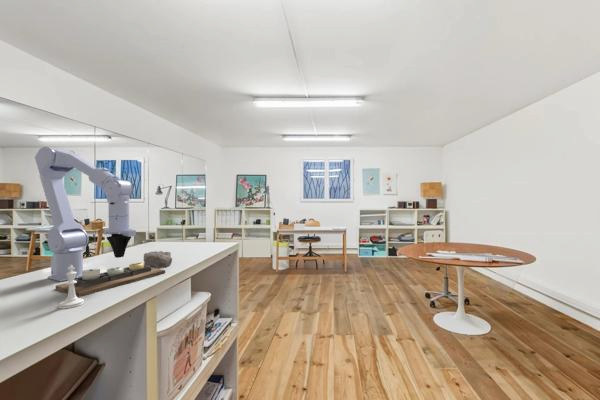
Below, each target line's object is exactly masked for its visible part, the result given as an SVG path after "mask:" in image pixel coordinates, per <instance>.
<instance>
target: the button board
mask: <svg viewBox="0 0 600 400" xmlns="http://www.w3.org/2000/svg"><path fill="white" fill-rule="evenodd" d="M123 269H124V273H119V274H115V275H108V274H107V271H105V272H100V278H98V279H94V280H82V277H79V278H75V279H74V281H77V283H74V288H75V294H76V297H82V296H86V295H90V294H94V293H98V292H102V291H104V290H110V289H113V288H116V287H120V286H123V285H126V284H131V283H134V282H138V281H141V280H146V279H150V278H153V277H156V276H159V275H163V274H166V269H160V268H156V267H151V266H146V265H144V268H140V269H136V270H131V269H129V266H127V267H123ZM55 290H58V291H61V292H64V293H67V294H68V291H69V284H66V283H61V284H57V285H55Z"/></svg>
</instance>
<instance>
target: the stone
mask: <svg viewBox="0 0 600 400" xmlns="http://www.w3.org/2000/svg"><path fill="white" fill-rule="evenodd" d="M172 262H173V257H172V252H170V251H162V250H160V251H157V250H155V251H149V252H145V253H144V254H143V263H144V265H146V266H151V268H162V267H169V266H171V265H172Z"/></svg>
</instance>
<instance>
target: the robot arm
mask: <svg viewBox="0 0 600 400" xmlns="http://www.w3.org/2000/svg"><path fill="white" fill-rule="evenodd" d="M34 159H35V163H36V166H37V170H38V173H39V178H40V182H41V185H42V189H43V192H44V195H45V200H46V203H47V205H48V208H49V212H50V216H51V218H52V223H53V226H52V227H51V228H50V229H49V230H48V231H47V233H46V234H47V245H48V246H47V247H48V248H49V250H50V251H51V252H52V254H53V255H52V256H51V257H50V275H48V276H47V279H51V280H54V281H58V282H64V281H69V280H68V277H67V275H66V274H67V273H68V272H70V270H68V268H69V267H70V265H73V268H75V269H74V270H73V271H74V272H77V273H76V276H75V279H77V278H82V271H84V264H83V263H84V258H83V257H84V256H83V255H84V253H83V251H84V250H85V247H86V246H87V245H89V241H90V239H89V234H88V233H87V232H86V230H85V229H84V226H83V225H82V224H80V223H78V222H77V221H76V220H75V218H74V214H73V211H72V208H71V207H72V206H71V205H70V201H69V197H68V194H67V191H66V188H65V185H64V181H63V178H64V177H67V176H68V175H69V174H70V173H71V172H72V171H73V170H74V169H75V170H76V171H79V172H80V173H83V174H84V175H86V176H88V181H89V182H91V183H92V184H94V185H96V186H97V187H99V188H100V189H101V190H103V193H104V195H105V196H106V201H107V203H108V227H107V228H106V227H105V228H103V232H102V233H103V235H111V236H106V239H107V241H108V242H109V244H110V245H111V248H112V249H111V250H112V252H113V255H114V258H117V259H118V258H123V257H124V256H125V253H126V249H127V248H128V247H127V246H128V244H129V243H130V241H131V239H132V238H133V237H136V236H137V231H136V229H133V228H130V197H131V195H132V194H133V192H134V186H133V184H132V182H131V181H129V180H127V179H121V178H120V176H119V175H115V174H113V173H111V172H110V170H109V168H106V167H95V166H94V165H92V163H90V162H89V161H87V160H86V159H84V158H83V157H82V156H81V154H79V153H76V152H75V151H73V150H65V149H59V148H54V147H50V146H42V147H40V149H38V151H37V152H36V154H35V156H34Z"/></svg>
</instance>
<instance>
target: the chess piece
mask: <svg viewBox="0 0 600 400" xmlns="http://www.w3.org/2000/svg"><path fill="white" fill-rule="evenodd" d="M74 269H75V268H73V265H70V267H69V268H68V270H70V272H68V273H67V274H66V275H67V277H68V280H67V281H66V284H69V291H68V293H67V297H66V298H65V300H63V301H61V302H60V303H59V306H58V308H59V309H61V310H63V309H72V308H76V307H79V306H82V305H84V303H85V299H83V298H80V297H79V296H77V295H76V294H75V288H74V283H77V281H74V279H76V278H75V276H76V273H77V272H74V271H73V270H74Z"/></svg>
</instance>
